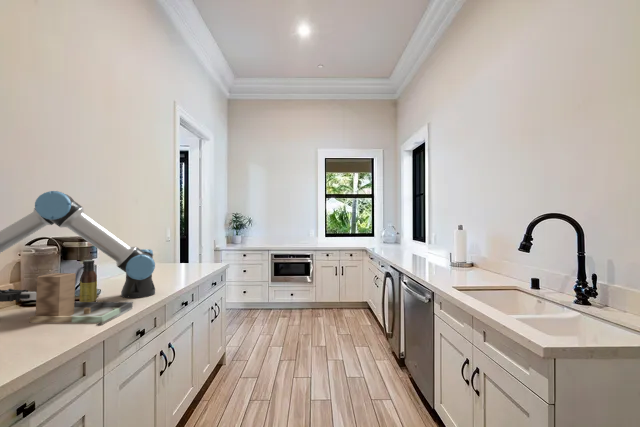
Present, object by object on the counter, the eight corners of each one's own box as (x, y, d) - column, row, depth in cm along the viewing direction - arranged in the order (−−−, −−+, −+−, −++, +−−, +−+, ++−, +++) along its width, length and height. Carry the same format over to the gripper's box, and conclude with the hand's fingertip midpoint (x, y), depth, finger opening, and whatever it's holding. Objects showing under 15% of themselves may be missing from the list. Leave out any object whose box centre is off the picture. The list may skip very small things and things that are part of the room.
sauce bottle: (86, 302, 144) (88, 259, 145) (99, 303, 144) (101, 259, 144) (75, 306, 138) (76, 260, 138) (88, 306, 137) (90, 261, 138)
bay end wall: (100, 324, 115) (100, 316, 115) (116, 316, 125) (116, 308, 125) (103, 324, 115) (103, 316, 115) (119, 316, 125) (119, 308, 125)
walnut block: (35, 320, 115) (37, 276, 115) (52, 314, 123) (54, 273, 123) (58, 320, 115) (60, 276, 116) (73, 314, 123) (75, 273, 124)
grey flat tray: (29, 325, 113) (29, 316, 113) (71, 308, 134) (71, 301, 134) (101, 325, 114) (102, 316, 114) (132, 309, 135) (132, 302, 135)
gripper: (-9, 301, 124) (53, 301, 126) (-46, 310, 111) (25, 310, 113) (-9, 282, 124) (54, 282, 126) (-45, 289, 111) (26, 289, 113)
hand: (40, 295), depth 119 cm, fingers closed
